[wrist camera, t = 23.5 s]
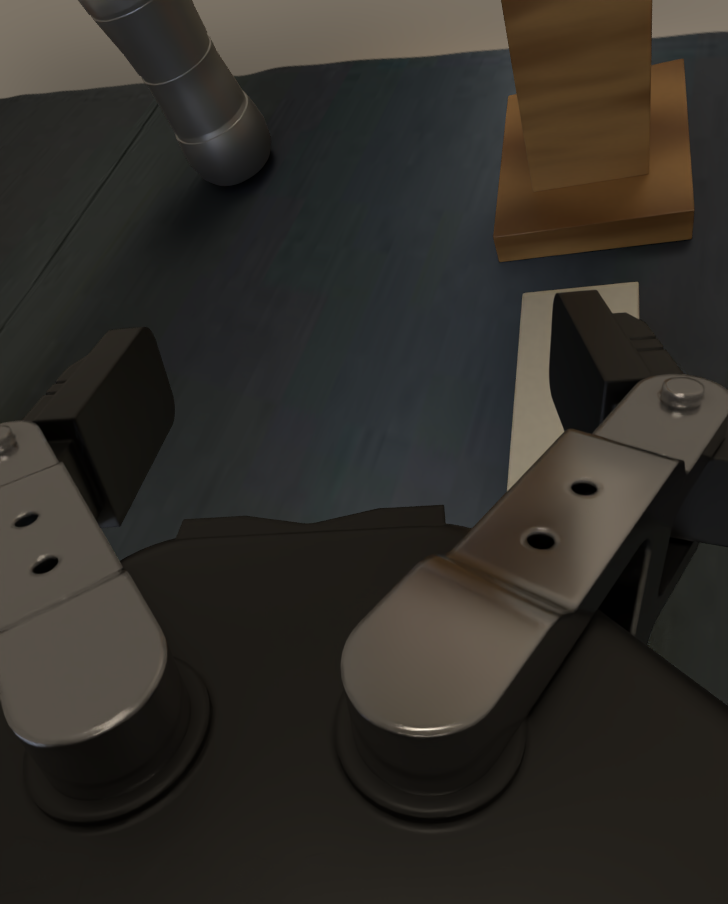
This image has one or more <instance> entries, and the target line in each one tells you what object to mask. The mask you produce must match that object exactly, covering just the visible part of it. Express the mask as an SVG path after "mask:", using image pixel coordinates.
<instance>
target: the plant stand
mask: <svg viewBox="0 0 728 904" xmlns="http://www.w3.org/2000/svg"><path fill="white" fill-rule="evenodd" d="M501 3H502V8H503V15H504V21H505V26H506V33H507V38H508V44H509V51H510V57H511V63H512V69H513V75H514V81H515V87H516V93H517V94H515V95H510V96H508V103H507V113H506V122H505V132H504V141H503V150H502V160H501V169H500V178H499V188H498V197H497V206H496V216H495V225H494V234H493V239H494V243H495V247H496V251H497V255H498V259H499V262H505V261H513V260H522V259H530V258H538V257H546V256H555V255H563V254H571V253H580V252H588V251H596V250H605V249H613V248H621V247H630V246H638V245H646V244H655V243H663V242H671V241H680V240H688V239H692V231H693V220H694V198H693V183H692V169H691V155H690V141H689V127H688V113H687V99H686V85H685V71H684V59H679V60H674V61H669V62H665V63H660V64H655V65H651V41H652V0H501Z"/></svg>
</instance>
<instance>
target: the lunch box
mask: <svg viewBox="0 0 728 904" xmlns="http://www.w3.org/2000/svg"><path fill="white" fill-rule="evenodd" d="M584 290H597V291H598V292H599V294H600V295H601V297H602V298H603V300H604V301H605V303H606V304H607V306H608V307H609V309H610V310H611V312H612V313H624V312H626V313H628V314H630V315H632V316H634V317H636V318H637V319H639V283H638V282H629V283H619V284H609V285H599V286H589V287H579V288H569V289H559V290H549V291H539V292H529V293H523V295H522V308H521V320H520V333H519V345H518V358H517V370H516V383H515V396H514V408H513V421H512V433H511V446H510V458H509V471H508V484H507V491H508V490H509V489H510V488H511V487H512V486H513V485H514V484H515V483H516V482H517V481H518V480H519V479H520V477H521V476H522V475H523V474H524V473H525V472H526V471H527V470H528V469H529V468H530V467H531V466H532V465H533V464H534V463H535V462H536V461H537V460H538V459H539V457H540V456H541V455H542V454H543V453H544V452H545V451H546V450H547V449H548V448H549V447H550V446H551V445H552V444H553V443H554V442H555V441H556V440H557V439H558V438H559V436H560V435H561V434H562V433H563V432H564V429H563V426H562V424H561V421H560V418H559V416H558V413H557V410H556V408H555V405H554V403H553V400H552V397H551V392H550V384H549V359H550V342H551V325H552V309H553V301H554V296H555V294H556V293H561V292H573V291H584Z"/></svg>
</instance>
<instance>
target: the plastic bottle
mask: <svg viewBox="0 0 728 904" xmlns="http://www.w3.org/2000/svg"><path fill="white" fill-rule="evenodd" d="M78 1H79V2H80V3H81V5H82V6H83V7H84V9H85V10H86V11H87V12H88V14H89V15H91V17H92V18H93V20H94V21H95V22H96V23H97V24H98V25H99V27H100V28H101V29H102V30H103V31H104V32H105V33H106V35H107V36H108V37H109V38H110V39H111V40H112V42H113V43H114V44H115V45H116V46H117V47H118V48H119V50H120V51H121V52H122V53H123V54H124V56H125V57H126V58H127V60H128V61H129V62H130V64H131V65H132V66H133V68H134V69H135V70H136V72H137V73H138V74H139V75H140V76H141V77H142V80H143V81H144V83H145V84H146V85H147V87H148V88H149V89H150V91H151V92H152V94H153V96H154V97H155V99H156V101H157V103H158V104H159V106H160V108H161V110H162V111H163V113H164V115H165V117H166V118H167V120H168V122H169V124H170V125H171V127H172V129H173V131H174V132H175V134H176V138H177V140H178V143H179V145H180V147H181V149H182V151H183V153H184V155H185V157H186V159H187V161H188V163H189V164H190V165H191V167H192V168H193V169H194V170H195V171H196V172H197V173H198V174H199V175H200V176H201V177H202V178H203V179H204V180H206V181H208V182H210V183H213V184H215V185H218V186H232V185H236V184H239V183H241V182H244V181H245V180H247V179H249V178H251V177H252V176H254V175H255V174H256V173H257V172H258V171H260V170H261V168H262V167H263V166H264V165H265V163H266V162H267V160H268V158H269V155H270V150H271V136H270V133H269V130H268V128H267V125H266V122H265V119H264V117H263V115H262V114H261V113H260V111H259V110H258V108H257V107H256V106H255V104H254V103H253V102H252V100H251V99H250V98H249V97H248V96H247V95H246V94H245V92H244V91H242V89H241V87H240V86H239V84H238V83H237V81H236V80H235V78H234V77H233V75H232V74H231V72H230V71H229V69H228V67H227V66H226V64H225V63H224V61H223V60H222V58H221V57H220V55H219V54H218V52H217V51H216V49H215V46H214V45H213V43H212V40H211V38H210V37H209V36H208V35H207V31H206V28H205V26H204V25H203V22H202V20H201V19H200V16H199V14H198V12H197V10H196V8H195V7H194V4H193V1H192V0H78Z"/></svg>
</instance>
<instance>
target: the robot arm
mask: <svg viewBox="0 0 728 904" xmlns="http://www.w3.org/2000/svg"><path fill="white" fill-rule="evenodd" d="M549 384H550V392H551V397H552V400H553V403H554V405H555V408H556V410H557V413H558V416H559V418H560V421H561V424H562V426H563V429H564V432H563V433H562V434H561V435H560V436H559V438H558V439H557V440H556V441H555V442H554V443H553V444H552V445H551V446H550V447H549V448H548V449H547V450H546V451H545V452H544V453H543V454H542V455H541V456H540V457H539V459H538V460H537V461H536V462H535V463H534V464H533V465H532V466H531V467H530V468H529V469H528V470H527V471H526V472H525V473H524V474H523V475H522V476H521V477H520V479H519V480H518V481H517V482H516V483H515V484H514V485H513V486H512V487H511V488H510V489H509V490H508V491H507V492H506V493H505V494H504V495H503V496H502V497H501V499H500V500H499V501H498V502H497V503H496V504H495V505H494V506H493V507H492V508H491V509H490V510H489V511H488V512H487V513H486V514H485V515H484V516H483V517H482V518H481V520H480V521H479V522H478V523H477V524H476V525H475V526H474V527H473V528H468V527H463V526H459V525H453V524H446V523H445V512H444V505H433V506H415V507H397V508H379V509H374V510H370V511H365V512H361V513H356V514H352V515H348V516H343V517H339V518H334V519H330V520H326V521H321V522H317V523H309V524H305V523H296V522H288V521H281V520H273V519H265V518H258V517H250V516H236V517H218V518H200V519H184V520H183V522H182V525H181V527H180V530H179V532H178V535H177V537H176V538H175V539H171V540H167V541H164V542H161V543H158V544H155V545H152V546H150V547H147V548H145V549H142V550H140V551H138V552H136V553H134V554H132V555H130V556H128V557H126V558H124V559H122V560H121V561H119V560H118V558H117V556H116V554H115V553H114V551H113V549H112V547H111V546H110V544H109V542H108V540H107V539H106V537H105V535H104V533H103V532H102V530H101V528H105V527H120V526H121V524H122V522H123V520H124V518H125V516H126V514H127V512H128V510H129V508H130V506H131V504H132V502H133V501H134V499H135V497H136V495H137V493H138V491H139V489H140V487H141V485H142V483H143V481H144V479H145V477H146V475H147V473H148V471H149V469H150V467H151V466H152V464H153V462H154V460H155V458H156V456H157V454H158V452H159V450H160V448H161V446H162V444H163V442H164V440H165V438H166V436H167V434H168V432H169V431H170V429H171V427H172V425H173V422H174V417H175V404H174V398H173V394H172V390H171V387H170V384H169V381H168V378H167V374H166V371H165V368H164V365H163V362H162V358H161V355H160V352H159V349H158V346H157V342H156V339H155V337H154V335H153V333H152V331H151V330H150V329H149V328H147V327H137V328H126V329H114V330H109V331H108V332H107V333H106V334H105V335H104V336H103V338H102V339H101V340H100V341H99V342H98V343H97V345H96V346H95V347H94V348H93V349H92V351H91V352H90V353H89V354H88V355H87V356H85V357H84V358H82V359H81V360H79V361H77V362H76V363H74V364H73V365H71V366H70V367H68V368H67V369H66V370H65V371H64V372H63V373H62V375H61V376H60V377H59V378H58V379H57V380H56V384H53V385H52V386H51V387H50V388H49V390H48V391H47V392H46V395H43V397H42V398H41V399H40V400H39V401H38V402H37V403H36V405H35V406H34V407H33V408H32V409H31V410H30V412H29V413H28V414H27V415H26V416H25V417H24V418H23V420H22V421H11V422H5V423H1V424H0V904H728V706H727V705H726V704H725V703H723V702H722V701H721V700H719V699H718V698H716V697H715V696H714V695H712V694H711V693H710V692H708V691H707V690H706V689H704V688H703V687H702V686H700V685H699V684H698V683H696V682H695V681H694V680H692V679H691V678H690V677H688V676H687V675H686V674H684V673H683V672H682V671H680V670H679V669H678V668H676V667H675V666H674V665H672V664H671V663H669V662H668V661H667V660H665V659H664V658H663V657H661V656H660V655H659V654H657V653H656V652H655V651H653V650H652V649H651V648H649V647H648V646H647V643H648V640H649V637H650V634H651V631H652V629H653V626H654V624H655V622H656V620H657V618H658V616H659V614H660V612H661V611H662V609H663V607H664V605H665V604H666V602H667V600H668V598H669V597H670V595H671V593H672V591H673V590H674V588H675V586H676V584H677V583H678V581H679V579H680V578H681V576H682V574H683V572H684V571H685V569H686V567H687V565H688V564H689V562H690V560H691V558H692V557H693V555H694V553H695V551H696V550H697V547H698V545H699V542H701V543H707V544H713V545H719V546H725V547H728V391H727V390H726V389H725V388H724V387H722V386H721V385H719V384H717V383H715V382H713V381H710V380H708V379H705V378H701V377H697V376H692V375H685V374H683V372H682V371H681V370H680V368H679V367H678V366H677V364H676V363H675V362H674V360H673V359H672V358H671V356H670V355H669V354H668V352H667V351H666V350H664V349H663V345H662V344H661V343H660V341H659V340H658V339H655V335H654V333H653V332H652V331H651V329H650V328H649V327H648V325H647V324H646V323H645V322H643V321H641V320H639V319H637V318H636V317H634V316H632V315H630V314H628V313H626V312H624V313H612V312H611V310H610V309H609V307H608V306H607V304H606V303H605V301H604V300H603V298H602V297H601V295H600V294H599V292H598V291H597V290H584V291H573V292H561V293H556V294H555V296H554V301H553V309H552V325H551V342H550V359H549Z"/></svg>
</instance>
